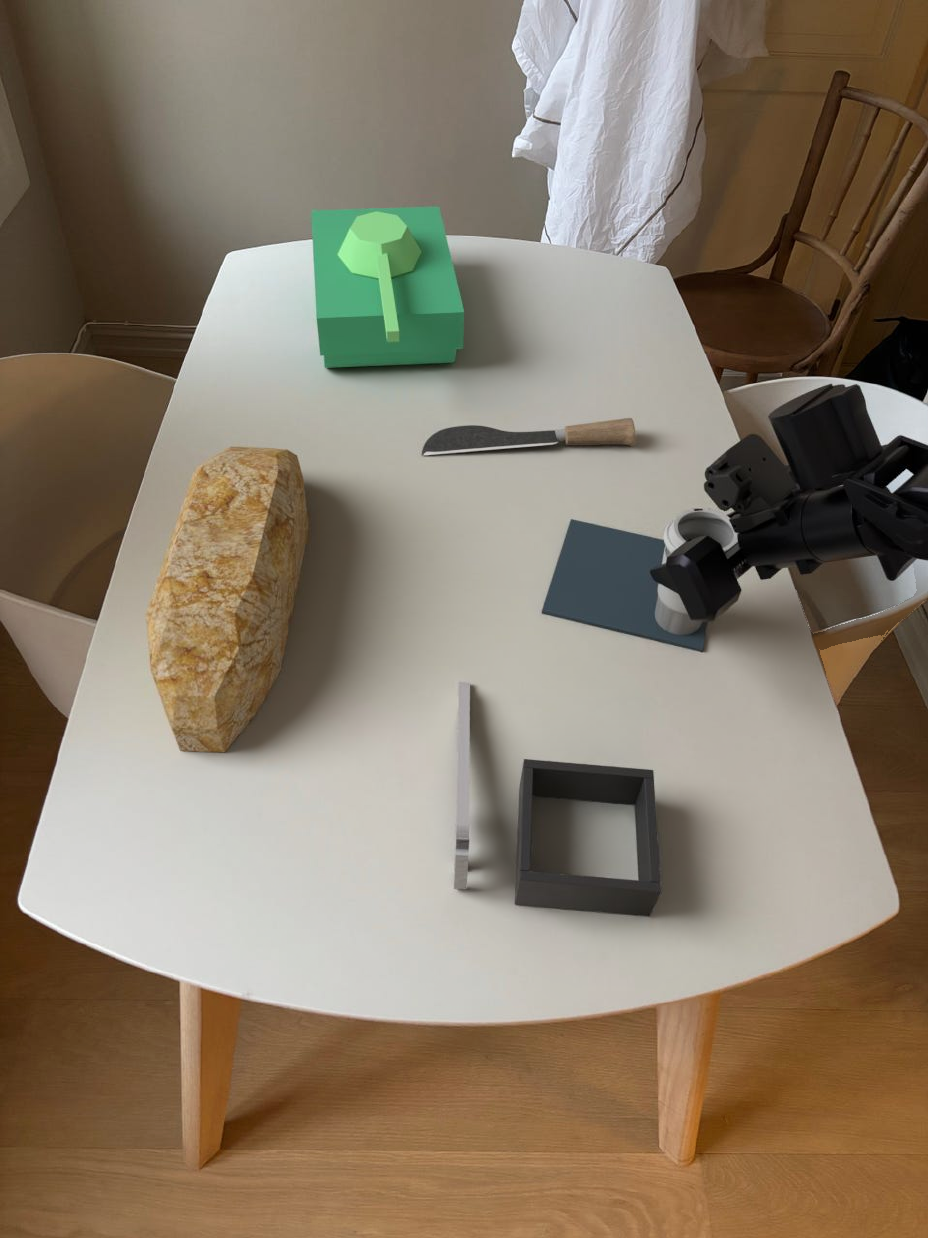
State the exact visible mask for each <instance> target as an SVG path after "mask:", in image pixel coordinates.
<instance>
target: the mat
mask: <svg viewBox="0 0 928 1238" xmlns="http://www.w3.org/2000/svg"><path fill="white" fill-rule="evenodd" d="M665 546H666V545H665V542H664V539H662V538H657V537H653V536H650V535H649V536H648V535H644V534H639V533H635V532H631V531H627V530H623V529H617V528H613V527H608V526H604V525H599V524H596V523H591V522H587V521H581V520H577V519H573V518H570V520H569V524H568V527H567V530H566V533H565V537H564V540H563V543H562V546H561V550H560V552H559V556H558V558H557V562H556V565H555V568H554V571H553V574H552V578H551V580H550V584H549V587H548V590H547V593H546V597H545V599H544V601H543V606H542V608H541V614H544V615H548V616H551V617H556V618H560V619H564V620H568V621H573V622H576V623H581V624H585V625H588V626H593V627H598V628H601V629H605V630H609V631H614V632H618V633H623V634H625V635H630V636H635V637H639V638H643V639H647V640H652V641H656V642H659V643H663V644H666V645H667V644H668V645H672V646H676V647H681V648H684V649H688V650H692V651H697V652H701V653H702V652H703V651H704V646H705V639H706V633H707V626H708V621H706V622H702V623H701V625H700V627H699V629H698V630H697V631H695V632H694V633H691V634H688V635H677V634H673V633H670V632H668V631H666V630H664V629H663V628H662V627H661V626H660V625H659V624H658V623H657V621H656V619H655V609H656V603H657V598H658V584H659V583H657V582H655V581H654V580H653V578H652V576H651V574H650V570H651V569H653V568H655V567H657V566H659V565H662V561H663V555H664V550H665Z"/></svg>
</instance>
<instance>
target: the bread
mask: <svg viewBox="0 0 928 1238" xmlns="http://www.w3.org/2000/svg"><path fill="white" fill-rule="evenodd" d="M309 531H310V527H309V517H308V508H307V499H306V491H305V483H304V476H303V472H302V468H301V464H300V461H299V458H298V455H297V454H296V453H294V452H292V451H290V450H289V449H288V448H287V449H286V448H285V449H284V448H277V447H276V448H274V447H260V446H259V447H255V446H230V447H228V448H226V449H224V450H223V451H221V452H219V453H217V454H216V455H214V456H213V457H211V458H209V459H207V460H206V461H204V462H203V463H201V464H198V466H196V468H195V469H194V471H193V472H192V476H191V479H190V482H189V484H188V487H187V491H186V494H185V497H184V499H183V503H182V505H181V509H180V511H179V514H178V518H177V521H176V523H175V525H174V529H173V532H172V535H171V538H170V541H169V544H168V547H167V550H166V552H165V555H164V559H163V561H162V565H161V568H160V571H159V574H158V577H157V580H156V583H155V586H154V588H153V592H152V595H151V598H150V601H149V604H148V607H147V609H146V612H145V620H146V630H147V631H146V633H147V643H148V654H149V665H150V673H151V675H152V678H153V681H154V685H155V687H156V690H157V692H158V695H159V698H160V701H161V704H162V707H163V710H164V713H165V715H166V718H167V720H168V723H169V725H170V728H171V730H172V734H173V736H174V739H175V741H176V744H177V746H178V749H179V751H180V752H181V751H182V752H183V751H184V752H186V751H188V752H204V753H226V751H228V749H229V748H230V746H231V745H232V744H233V743H234V742H235V740H237V738H238V737H239V736H240V734H241V733H243V731H244V730H245V728H246V727H248V725H249V724H250V723H251V721H252V720H254V718H255V717H256V716H257V713H258V712H259V710H260V708H261V707H262V705H263V703H264V702H265V699H266V698H267V696H268V694H269V692H270V691H271V689H272V687H273V686H274V683H275V682H276V680H277V678H278V677H279V675H280V674H281V671H282V666H283V662H284V661H283V660H284V656H285V651H286V646H287V642H288V635H289V631H290V626H291V622H292V617H293V611H294V606H295V602H296V596H297V593H298V592H297V591H298V586H299V581H300V577H301V572H302V566H303V561H304V556H305V552H306V546H307V541H308V537H309Z"/></svg>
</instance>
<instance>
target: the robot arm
mask: <svg viewBox="0 0 928 1238" xmlns="http://www.w3.org/2000/svg"><path fill="white" fill-rule="evenodd" d="M767 418H768V420H769V422H770V424H771V426H772V429H773V432H774V434H775V436H776V439H777V440H778V443H779V446H780V448H781V450H782V452H783V455H784V457H785V460H786V461H787V465H785V463H784V462H783V461H782V460H781V459H780V458H779V456H777V454H776V452H774V450H773V449H772V448H771V447H770V446H769V444H768V443H767V442H766V441H765V440H764V438H763V437H762V436H760V435H759V434H756V433H749V434H747V435H746V436H745V437H744V438H742V439H741V440H739V441H737V443H735V444H733V445H732V446H731V447H729V448H727V450H726V451H725V452H723V454H721V455H720V456H719V457H718V458H717V459H716V460H715V461H713V462H712V463H711V464H710V465H709V466H707V467H706V468H705V471H704V478H705V482H704V483H703V491H704V492H705V493H706V494H707V495H708V497H709V498H710V499H711V501H712V502H713V503H714V505H715V506H716V507H717V508H718V509H719V510H721V511H724V512H727V511H729V510H730V509H731V510H733V511H731V512H729V513H728V514H725V515H726V516H728V517H729V518H730V519H729V521H730V523H731V525H732V528H733V530H734V532H735V533H738V534H737V539H738V542H737V543H736V544H734V545H733V546H732V547H731V548H729V549H728V550H727V551H726V552H724V550H723V548H722V546H721V544H720V543H719V542H717V541H716V540H714V539H713V538H711V537H709V536H708V535H707V536H701V537H697V538H695V539H693V540H691V539H689V540H687V541H686V542H685V543H684V544H682V545H681V546H680V547H678V548H677V549H676V550H674V551H673V552H672V554H670V555H669V556H668V557H667V559H666V563H664V564H662V565H659V566H657V567H655V568H653V569H651V570H650V574H651V576H652V578H653V580H654V581H655V582H657V583H659V584H661V585H663V586H665V587H666V588H668V589H670V590H672V591H674V592H676V593H677V594H679V596H680V598H681V600H682V602H683V604H684V607H685V609H686V611H687V613H688V615H689V617H690V619H691V620H693V621H696V622H706V621H707V622H715V621H716V620H717V619H718V618H719V617H720V616H721V615H723V614H724V613H725V612H726V611H728V610H729V609H730V608H731V607H733V605H735V604H736V603H737V602H739V599H740V596H741V594H742V591H743V589H742V588H741V585H740V583H739V581H738V579H740V578H741V577H742V576H743V575H744V574H745V573H747V572H748V571H749V570H751V569H752V568H753V567H754V569H755V571H756V573H757V575H758V577H759V580H760V581H763V580H770V579H772V578H773V577H774V576H775V575H776V574H778V573H779V572H780V571H781V570H783V569H785V568H786V569H789V568H794V567H795V568H796V567H797V570H798V572H799V574H800V575H809V574H813V573H814V572H815V571H816V570H818V568H820V566H822V565H823V564H824V563H830V562H831V563H832V562H838V561H846V560H854V559H860V558H868V557H877V559H878V561H879V564H880V566H881V569H882V571H883V574H884V575H885V576H884V577H885V578H886V579H887V580H888V581H889V582H894V581H896V580H897V579H898V578H899V577H900V576H901V575H902V574H903V573H905V571H906V570H907V569H909V568H910V567H911V566H912V565H913V563H915V561H916V560H922V561H927V562H928V444H926V443H924V442H921V441H918V440H915V439H913V438H910V437H907V436H905V435H902V434H898V435H897V436H895V437H894V438H893V439H892V440H891V441H890V442H889V443H886V444H883V445H882V444H881V441H880V439H879V436H878V434H877V432H876V429H875V426H874V425H873V421H872V419H871V416H870V413H869V411H868V407H867V402H866V398H865V395H864V392H863V390H862V388H861V386H860V385H859V384H857V383H854V384H852V385H848V386H846V384H843V383H842V384H841V383H840V384H834V385H833V383H829V384H825V385H822V386H820V387H817V388H814V389H812V390H810V391H807V392H805V393H803V394H801V395H798V396H797V397H794V398H792V399H791V400H789V401H787V402H785V403H783V404H782V405H780V406H778V407H777V408H775V409H774V410H773V411H772V412H770V413H769V414H768V416H767ZM906 470H907V471H908V472H910V473H911V474H912V475H911V476H910V477H908V479H906V480H905V481H904V482H903V483H902V484H901V485H900V486H899V487H897V489H895V490H894V491H893V492H892V491H891V490H890V488H889V487H888V486H889V485H890V484H891V483H892V482H893V481H895V480H896V479H898V478H897V477H899V476H900V475H901V474H903V473H904V472H905V471H906Z"/></svg>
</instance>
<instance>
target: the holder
mask: <svg viewBox="0 0 928 1238" xmlns="http://www.w3.org/2000/svg"><path fill="white" fill-rule="evenodd" d="M654 772H655V771H654V769H647V768H634V767H624V766H623V767H622V766H611V765H599V764H588V763H575V762H564V761H555V760H554V761H553V760H542V759H528V758H524V759H523V761H522V768H521V776H520V781H519V788H518V810H517V811H518V813H517V832H516V833H517V834H516V836H517V837H516V856H515V857H516V859H515V860H516V861H515V884H514V905H515V906H524V907H534V908H547V909H556V910H557V909H558V910H570V911H579V912H580V911H581V912H591V913H604V914H613V915H614V914H615V915H625V916H637V917H651V916H652V914H653V912H654V909H655V908H656V906H657V905H656V904H657V903H658V901H659V898H660V895H661V893H662V883H661V882H662V879H661V864H660V863H661V862H660V851H659V850H660V849H659V848H660V847H659V836H658V820H657V806H656V805H657V804H656V791H655V789H656V788H655V773H654ZM533 797H534V798H535V797H537V798H549V799H559V800H560V799H561V800H570V801H583V802H595V803H596V802H597V803H605V804H617V805H618V804H619V805H628V806H629V805H630V806H634V823H635V839H636V840H635V841H636V854H637V855H636V859H637V860H636V861H637V877H638V878H637V879H625V878H624V879H623V878H615V877H614V878H613V877H603V876H602V877H601V876H592V875H591V876H590V875H580V874H579V875H577V874H566V873H556V872H544V871H531V861H532V860H531V859H532V857H531V855H532V830H533V829H532V827H533V825H532V824H533V823H532V822H533Z"/></svg>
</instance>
